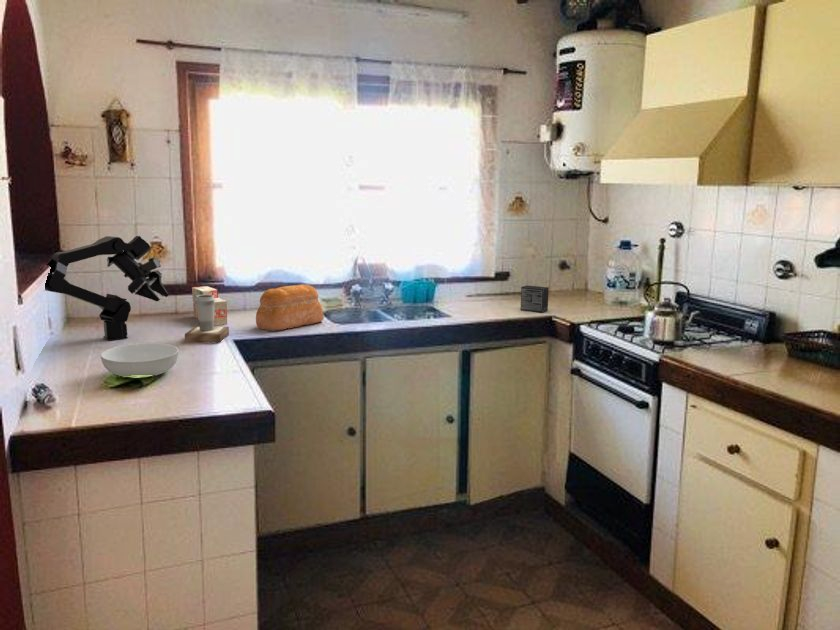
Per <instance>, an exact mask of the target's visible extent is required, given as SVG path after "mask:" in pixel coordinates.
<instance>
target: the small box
mask: <svg viewBox="0 0 840 630" xmlns="http://www.w3.org/2000/svg"><path fill="white" fill-rule="evenodd" d="M520 289H521V290H520V311H523V312H530V311H531V313H532V312H533V313H541V314H542V313H545V312H548V310H549V287H548V286H547V287H546V286H538V285H537V286H536V285H527V284H526V285H524V286H521V288H520Z"/></svg>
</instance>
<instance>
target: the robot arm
mask: <svg viewBox="0 0 840 630" xmlns="http://www.w3.org/2000/svg"><path fill="white" fill-rule="evenodd" d="M151 248H152V247H151V245H150V243H148V242H147V241H146V240H144V239H143V238H142V237H141V235H136V236H134V237H133V239H131V240H130V241H129V242H126V241H124V240H123V238H121V237H119V236H108V235H107V236H104V237H101V238H100V239H99V238H98V239H97V240H96V241H95V242H93V243H91V244H87V245H84V246H83V245H82V246H79V247H76V248H71V249H68V250H63V251H59V252H54V253H53V254H52V256H51V257H50V259H49V261H47V262H46V263H45V265H49V266H50V267H51V269H50V273H48V276H47V280H46V283H45V290H44V291H46V292H52V293H55V294H63V295H66V296H67V297H72V298H75V299H77V300H79V301H82V302H85V303H89V304H90V305H94V306H97V307H98V308H100V309H101V310H102V311H101V312H100V313H99V315H98V317H99V318H100V321H103V329H104V331H103V332H104V335H102V337H103V338H104V339H105V340H107V341H110V342H111V341H117V340H123V339H125V340H126V339H128V337H129V336H128V328H127V327H128V325H127V324H126V322H127V321H128V319H129V315H130V312H131V310H132V308H131V303H130V302H129V301H127V298H122V297H121V296H120V295H117V294H111V293H106V295H105V296H104V295H101V294H99V293H96V292H94V291H91V290H87V288H86V289H85V288H83V287H80V286H77V285H74V284H73V283H71V282H69V281H68V280H66V279H65V277H66V274H67V270H68V266H69V264H72V263H76V262H80V261H83V260H87V259H90V258H94V257H98V256H106V255H107V259H106V261H107V267H108V268H110V267H111V266H113V265H114V266H116V267H117V268H118V270H120V271H121V272H122V273H123V274H124V275H123V277H125V278H129V279H130V280H131V282H130V283H129V285H128V286H127V290H128V292H130V294H131V295H132V294H134V295H137V296H140V297H144V298H147V299H149V300H152V301H154V302H159V301H160V300H161V299H160V297H159V296H158V294H159V295H162V296H163V297H165V298H167V297H169V293H168V291H167V289H166V288H165V286H164V284H163V283H162V277H163V276H162V275H163V274H162V273H161V271H159V269H158V268H161V267H162V265H161V264H160V263H161V260H159V258H156V257H154V256H153V257H151V258H149V259H148V261H147V262H145V263H143V262H137V261H139V260H140V259H141V258H142V257H144V256H145V255H146V254H148V253H149V252H150V251H151ZM109 255H112V256H109ZM156 269H157V270H156ZM155 292H156V293H155Z"/></svg>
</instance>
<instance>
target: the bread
mask: <svg viewBox="0 0 840 630" xmlns="http://www.w3.org/2000/svg"><path fill="white" fill-rule="evenodd" d="M259 303H260V304H259V306H258V309H257V310H256V313H255V323H256V327H257V328H258V329H260V328H261V330H264V329H265V330H266V331H271V330H278V331H282V330H287V328H288V329H291V328H292V329H294V327H295V328H298V327H301V326H302V327H303V326H308V325H313V324H318V323H320V322H322V321H323V320H324V318H325V317H324V310H323V307H322V304H321V302H320V301H319V293H318V291H317V290H316V289H315V287H314V286H311V285H308V284H303V283H301V284H297V285H286V286H280V287H276V288H269V289H266V290H265V291H264V292H263V293H262V294H261V296H260V298H259ZM265 330H264V331H265Z"/></svg>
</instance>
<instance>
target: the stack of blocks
mask: <svg viewBox="0 0 840 630" xmlns="http://www.w3.org/2000/svg"><path fill="white" fill-rule="evenodd" d="M191 289H192V303H193V305H192V306H193V317H194V318H196V319H197V318H198V314H197V301H195V299H196V296H198V295H214V298H215V300H214V327H216V326H223V324H224V325H228V310H227V309H228V302H227V300H225V299H222V298H221V297H219V291H218V289H217V288H214V287H210V286H207V285H206V286H205V285H204V286H194V287H191ZM215 325H216V326H215Z"/></svg>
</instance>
